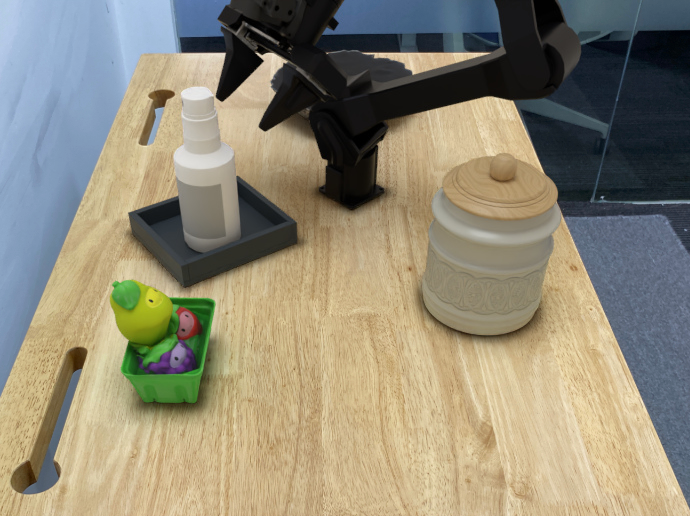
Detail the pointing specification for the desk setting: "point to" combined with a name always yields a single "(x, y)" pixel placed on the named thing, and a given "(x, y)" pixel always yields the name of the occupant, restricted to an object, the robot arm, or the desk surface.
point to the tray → (192, 266)
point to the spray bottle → (205, 176)
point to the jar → (490, 244)
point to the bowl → (356, 69)
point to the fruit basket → (162, 340)
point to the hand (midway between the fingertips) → (239, 114)
